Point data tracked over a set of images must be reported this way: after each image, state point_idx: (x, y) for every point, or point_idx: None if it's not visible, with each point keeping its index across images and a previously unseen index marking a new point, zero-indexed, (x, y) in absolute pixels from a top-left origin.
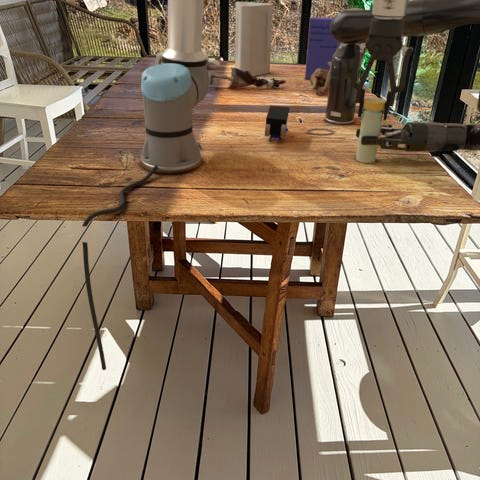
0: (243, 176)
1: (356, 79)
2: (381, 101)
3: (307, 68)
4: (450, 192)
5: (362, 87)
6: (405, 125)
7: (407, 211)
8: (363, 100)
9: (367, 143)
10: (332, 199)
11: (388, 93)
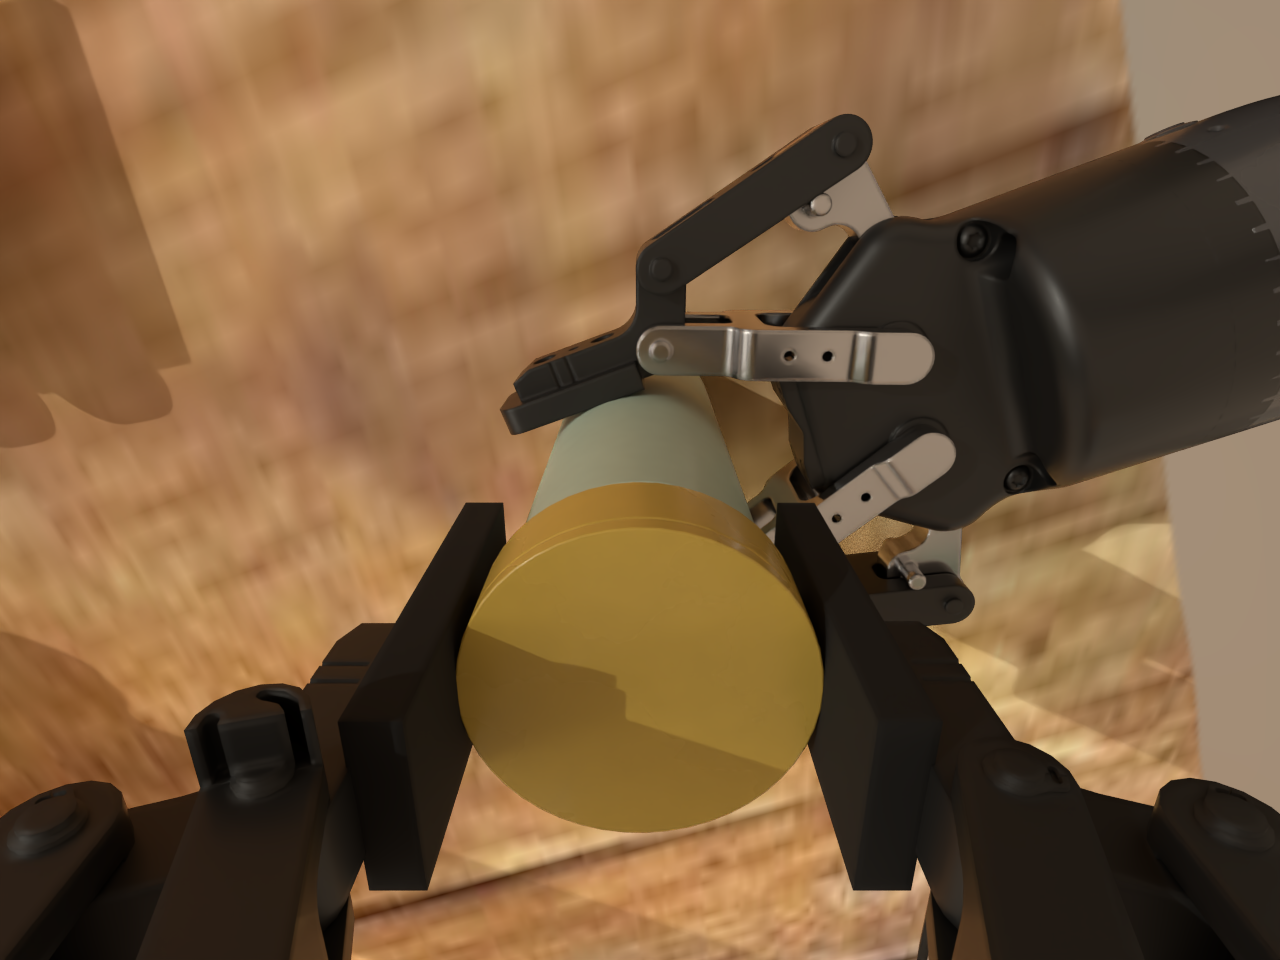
0: None
1: (49, 946)
2: (746, 729)
3: None
4: (1123, 723)
5: (351, 949)
6: (1027, 307)
7: (874, 941)
8: (466, 719)
9: None
10: (551, 938)
11: (873, 871)
